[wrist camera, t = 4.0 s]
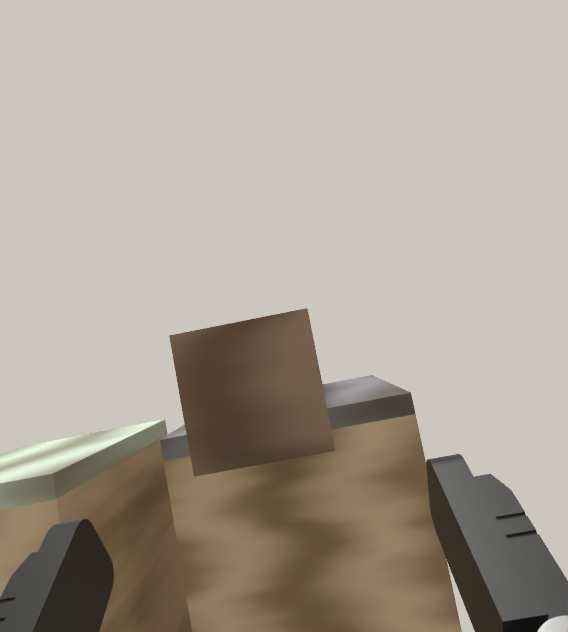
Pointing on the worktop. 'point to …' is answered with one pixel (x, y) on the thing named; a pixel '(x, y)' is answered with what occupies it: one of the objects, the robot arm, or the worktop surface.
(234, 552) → the tower
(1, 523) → the tower
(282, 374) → the walnut bar
